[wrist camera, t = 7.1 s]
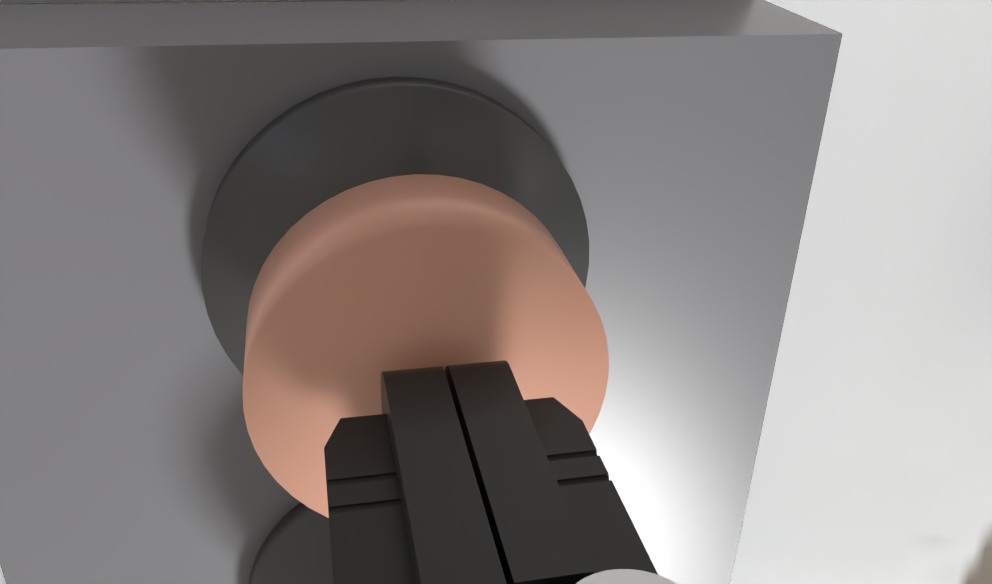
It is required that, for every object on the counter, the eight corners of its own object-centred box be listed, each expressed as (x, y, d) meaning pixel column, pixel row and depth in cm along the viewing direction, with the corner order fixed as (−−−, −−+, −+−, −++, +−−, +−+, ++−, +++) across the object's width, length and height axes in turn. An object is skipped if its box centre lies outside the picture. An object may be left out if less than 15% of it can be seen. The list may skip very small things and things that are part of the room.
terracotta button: (229, 182, 11) (222, 236, 10) (586, 166, 12) (625, 213, 11) (262, 475, 14) (261, 553, 12) (564, 443, 14) (594, 512, 13)
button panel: (-77, 4, 14) (-172, 61, 11) (756, -3, 17) (859, 40, 14) (134, 825, 24) (114, 972, 21) (639, 739, 27) (685, 858, 24)
